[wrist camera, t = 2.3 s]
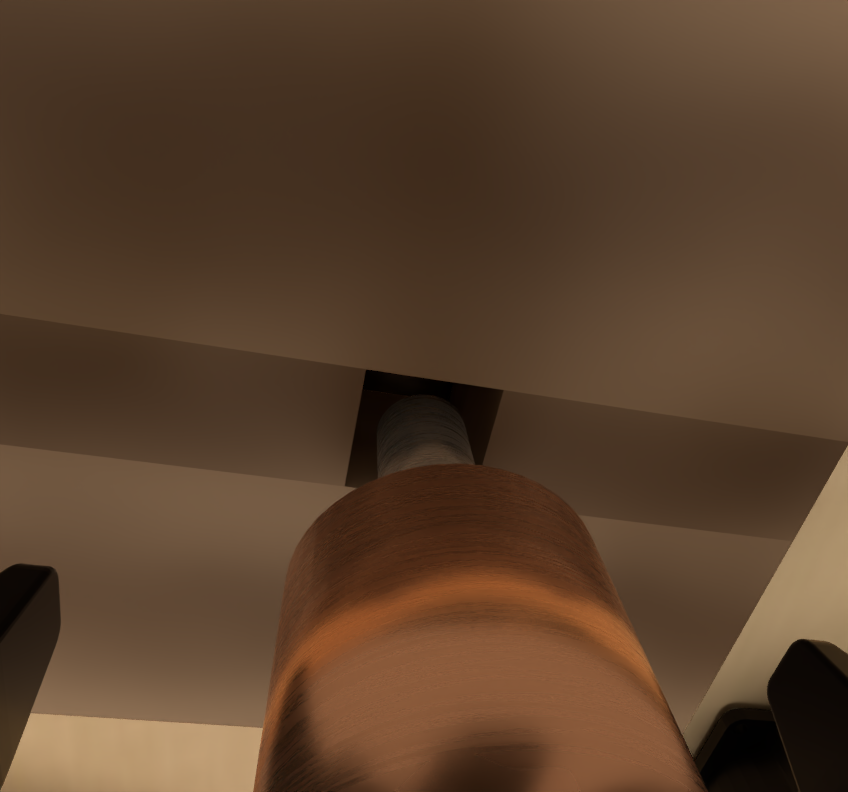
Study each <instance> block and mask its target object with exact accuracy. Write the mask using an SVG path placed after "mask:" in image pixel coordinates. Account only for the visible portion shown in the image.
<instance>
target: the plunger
mask: <svg viewBox="0 0 848 792" xmlns="http://www.w3.org/2000/svg"><path fill="white" fill-rule="evenodd" d="M377 465H378V479H376V480H373V481H370V482H368V483H366V484H364V485H363V486H361V487H359V488H357V489H355V490H353V491H351V492H349V493H348V494H347V495H345V496H344V497H342V498H341V499H339V500H338V501H336V502H335V503H334V504H332V505H331V506H330V507H329V508H328V509H327V510H326V511H324V512H323V513H322V514H321V515H320V516H319V517H318V518H317V519H316V520H315V521H314V523H313V524H312V525H311V526H310V527H309V528H308V530H307V531H306V532H305V534H304V535H303V537H302V538H301V540H300V542H299V543H298V545H297V546H296V548H295V551H294V553H293V555H292V558H291V560H290V563H289V566H288V570H287V575H286V579H285V585H284V592H283V598H282V605H281V612H280V618H279V625H278V631H277V638H276V645H275V651H274V658H273V665H272V671H271V678H270V685H269V691H268V698H267V704H266V711H265V718H264V724H263V731H262V738H261V744H260V751H259V758H258V764H257V771H256V777H255V784H254V791H253V792H708V790H707V788H706V786H705V784H704V782H703V779H702V777H701V775H700V773H699V771H698V768H697V766H696V764H695V762H694V760H693V757H692V755H691V753H690V751H689V749H688V747H687V744H686V742H685V740H684V738H683V736H682V733H681V731H680V729H679V727H678V725H677V722H676V720H675V718H674V716H673V714H672V712H671V709H670V707H669V705H668V703H667V701H666V698H665V696H664V694H663V692H662V690H661V687H660V685H659V683H658V681H657V679H656V677H655V674H654V672H653V670H652V668H651V666H650V663H649V661H648V659H647V657H646V655H645V652H644V650H643V648H642V646H641V644H640V642H639V639H638V637H637V635H636V633H635V631H634V628H633V626H632V624H631V622H630V620H629V617H628V615H627V613H626V611H625V609H624V607H623V604H622V602H621V600H620V598H619V596H618V593H617V591H616V589H615V587H614V585H613V582H612V580H611V578H610V576H609V574H608V572H607V569H606V567H605V565H604V563H603V561H602V558H601V556H600V554H599V552H598V550H597V548H596V545H595V543H594V541H593V539H592V537H591V534H590V533H589V531H588V529H587V527H586V526H585V524H584V522H583V521H582V519H581V518H580V517H579V516H578V514H577V513H576V512H575V511H574V510H573V508H572V507H571V506H570V505H569V504H567V503H566V502H565V501H564V500H563V499H562V498H561V497H560V496H558V495H557V494H556V493H554V492H553V491H551V490H549V489H548V488H546V487H545V486H543V485H542V484H540V483H538V482H535V481H533V480H531V479H529V478H527V477H525V476H522V475H519V474H516V473H513V472H510V471H507V470H504V469H499V468H493V467H488V466H483V465H475V463H474V459H473V455H472V451H471V447H470V443H469V439H468V436H467V432H466V428H465V424H464V420H463V418H462V416H461V414H460V412H459V411H458V410H457V409H456V407H455V406H453V405H452V404H451V403H450V402H448V401H447V400H444V399H442V398H440V397H437V396H433V395H425V394H422V395H412V396H409V397H405V398H403V399H401V400H399V401H397V402H395V403H394V404H393V405H391V406H390V407H389V408H388V409H387V410H386V411H385V412H384V414H383V415H382V417H381V419H380V421H379V423H378V427H377Z"/></svg>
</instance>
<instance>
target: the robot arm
mask: <svg viewBox="0 0 848 792" xmlns="http://www.w3.org/2000/svg"><path fill="white" fill-rule="evenodd" d="M60 627H61V612H60V593H59V577H58V573H57V571H56V569H54V568H53V567H51V566H44V565H33V564H23V563H19V564H14V565H12V566H9V567H7V568H6V569H4V570H3V571H1V572H0V790H1V788H2V785H3V783H4V781H5V778H6V776H7V773H8V771H9V768H10V766H11V763H12V761H13V758H14V755H15V753H16V750H17V747H18V745H19V742H20V739H21V737H22V734H23V731H24V729H25V726H26V724H27V721H28V718H29V716H30V713H31V710H32V708H33V705H34V702H35V700H36V697H37V694H38V692H39V689H40V686H41V684H42V681H43V679H44V676H45V673H46V671H47V668H48V665H49V663H50V660H51V657H52V655H53V652H54V649H55V647H56V644H57V641H58V637H59V633H60ZM767 695H768V701H769V704H770V707H771V710H772V711H769V710H755V709H742V708H739V709H733V710H730V711H728V712H726V713H725V714H724V715H723V716H722V717H721V719H720V720H719V722H718V724H717V725H716V727H715V729H714V730H713V732H712V734H711V735H710V737H709V739H708V740H707V742H706V744H705V745H704V747H703V749H702V750H701V752H700V754H699V755H698V757H697V759H696V760H695V764H696V766H697V768H698V771H699V773H700V775H701V777H702V779H703V782H704V784H705V786H706V788H707V790H708V792H848V654H847V653H845V652H844V651H843V650H841V649H840V648H838V647H837V646H835V645H834V644H832V643H829V642H826V641H819V640H808V639H800V640H797V641H795V642H794V643H792V645H791V646H790V647H789V649H788V650H787V652H786V654H785V655H784V657H783V658H782V660H781V662H780V663H779V665H778V666H777V668H776V670H775V671H774V673H773V675H772V676H771V678H770V680H769V682H768V686H767Z"/></svg>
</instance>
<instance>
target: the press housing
mask: <svg viewBox="0 0 848 792" xmlns="http://www.w3.org/2000/svg"><path fill="white" fill-rule="evenodd" d="M366 369H368V370H375V371H381V372H388V373H395V374H401V375H408V376H414V377H421V378H428V379H434V380H441V381H448V382H453V386H452V390H451V394H450V398H449V402H450V403H451V404H452V405H453V406H455V407H456V409H457V410H458V411H459V412H460V414H461V416H462V418H463V420H464V424H465V428H466V432H467V436H468V439H469V443H470V447H471V451H472V455H473V459H474V463H475V465H483V466H488V467H493V468H499V469H504V470H507V471H510V472H513V473H516V474H519V475H522V476H525V477H527V478H529V479H531V480H533V481H535V482H538V483H540V484H542V485H543V486H545V487H546V488H548V489H549V490H551V491H553V492H554V493H556V494H557V495H558V496H560V497H561V498H562V499H563V500H564V501H565V502H566V503H567V504H569V505H570V506H571V507H572V508H573V510H574V511H575V512H576V513H577V514H578V516H579V517H580V518H581V519H582V521H583V522H584V524H585V526H586V527H587V529H588V531H589V533H590V534H591V537H592V539H593V541H594V543H595V545H596V548H597V550H598V552H599V554H600V556H601V558H602V561H603V563H604V565H605V567H606V569H607V572H608V574H609V576H610V578H611V580H612V582H613V585H614V587H615V589H616V591H617V593H618V596H619V598H620V600H621V602H622V604H623V607H624V609H625V611H626V613H627V615H628V617H629V620H630V622H631V624H632V626H633V628H634V631H635V633H636V635H637V637H638V639H639V642H640V644H641V646H642V648H643V650H644V652H645V655H646V657H647V659H648V661H649V663H650V666H651V668H652V670H653V672H654V674H655V677H656V679H657V681H658V683H659V685H660V687H661V690H662V692H663V694H664V696H665V698H666V701H667V703H668V705H669V707H670V709H671V712H672V714H673V716H674V718H675V720H676V722H677V725H678V727H679V729H680V731H681V733H682V735H683V733H684V731H685V729H686V728H687V726H688V724H689V722H690V721H691V719H692V717H693V715H694V714H695V712H696V710H697V708H698V707H699V705H700V703H701V701H702V700H703V698H704V696H705V694H706V693H707V691H708V689H709V687H710V686H711V684H712V682H713V680H714V679H715V677H716V675H717V673H718V672H719V670H720V668H721V666H722V665H723V663H724V661H725V659H726V658H727V656H728V654H729V652H730V651H731V649H732V647H733V645H734V644H735V642H736V640H737V638H738V636H739V635H740V633H741V631H742V629H743V628H744V626H745V624H746V622H747V621H748V619H749V617H750V615H751V614H752V612H753V610H754V608H755V607H756V605H757V603H758V601H759V600H760V598H761V596H762V594H763V593H764V591H765V589H766V587H767V586H768V584H769V582H770V580H771V579H772V577H773V575H774V573H775V572H776V570H777V568H778V566H779V565H780V563H781V561H782V559H783V558H784V556H785V554H786V552H787V551H788V549H789V547H790V545H791V544H792V542H793V540H794V538H795V537H796V535H797V533H798V531H799V530H800V528H801V526H802V524H803V523H804V521H805V519H806V517H807V516H808V514H809V512H810V510H811V509H812V507H813V505H814V503H815V502H816V500H817V498H818V496H819V495H820V493H821V491H822V489H823V488H824V486H825V484H826V482H827V481H828V479H829V477H830V475H831V474H832V472H833V470H834V468H835V467H836V465H837V463H838V461H839V460H840V458H841V456H842V454H843V453H844V451H845V449H846V447H847V446H848V0H0V572H1V571H3V570H4V569H6V568H7V567H9V566H12V565H14V564H19V563H23V564H33V565H44V566H51V567H53V568H54V569H56V571H57V573H58V577H59V593H60V612H61V627H60V633H59V637H58V641H57V644H56V647H55V649H54V652H53V655H52V657H51V660H50V663H49V665H48V668H47V671H46V673H45V676H44V679H43V681H42V684H41V686H40V689H39V692H38V694H37V697H36V700H35V702H34V705H33V708H32V710H31V713H37V714H53V715H69V716H85V717H100V718H116V719H132V720H148V721H164V722H179V723H195V724H211V725H227V726H243V727H258V728H263V724H264V718H265V711H266V704H267V698H268V691H269V685H270V678H271V671H272V665H273V658H274V651H275V645H276V638H277V631H278V625H279V618H280V612H281V605H282V598H283V592H284V585H285V579H286V575H287V570H288V566H289V563H290V560H291V558H292V555H293V553H294V551H295V548H296V546H297V545H298V543H299V542H300V540H301V538H302V537H303V535H304V534H305V532H306V531H307V530H308V528H309V527H310V526H311V525H312V524H313V523H314V521H315V520H316V519H317V518H318V517H319V516H320V515H321V514H322V513H323V512H324V511H326V510H327V509H328V508H329V507H330V506H331V505H332V504H334V503H335V502H336V501H338V500H339V499H341V498H342V497H344V496H345V495H347V494H348V493H349V492H351V491H353V490H355V489H357V488H359V487H361V486H363V485H364V484H366V483H368V482H370V481H373V480H376V479H378V465H377V427H378V423H379V421H380V419H381V417H382V415H383V414H384V412H385V411H386V410H387V409H388V408H389V407H390V406H391V405H393V404H394V403H395V402H397V401H399V400H401V399H403V398H405V397H409V396H406V395H399V394H392V393H385V392H378V391H372V390H365V389H362V388H363V382H364V377H365V371H366Z"/></svg>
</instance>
